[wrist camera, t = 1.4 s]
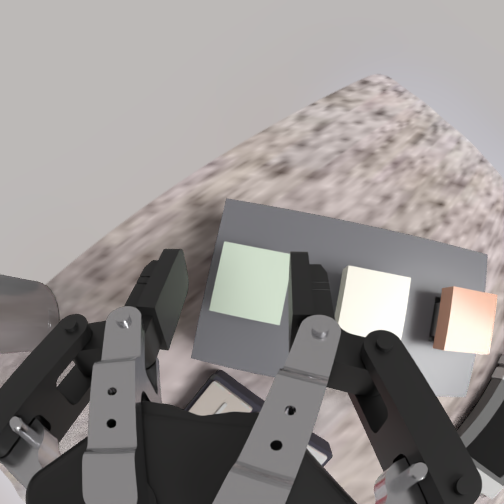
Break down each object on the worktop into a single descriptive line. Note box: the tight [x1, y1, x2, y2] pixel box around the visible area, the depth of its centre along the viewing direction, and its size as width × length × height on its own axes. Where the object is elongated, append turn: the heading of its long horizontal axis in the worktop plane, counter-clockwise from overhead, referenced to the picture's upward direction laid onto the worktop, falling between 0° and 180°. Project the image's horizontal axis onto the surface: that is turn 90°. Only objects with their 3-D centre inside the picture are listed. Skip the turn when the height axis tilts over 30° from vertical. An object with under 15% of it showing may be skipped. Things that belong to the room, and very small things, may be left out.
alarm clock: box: [457, 355, 504, 499], centre depth 26 cm, size 17×5×16 cm
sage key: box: [209, 241, 290, 325], centre depth 25 cm, size 5×5×6 cm
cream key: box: [335, 265, 411, 340], centre depth 24 cm, size 5×5×6 cm
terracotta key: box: [429, 286, 497, 354], centre depth 23 cm, size 5×5×6 cm
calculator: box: [184, 370, 333, 467], centre depth 28 cm, size 11×4×15 cm
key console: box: [191, 199, 487, 397], centre depth 29 cm, size 26×14×7 cm, turn 79°
